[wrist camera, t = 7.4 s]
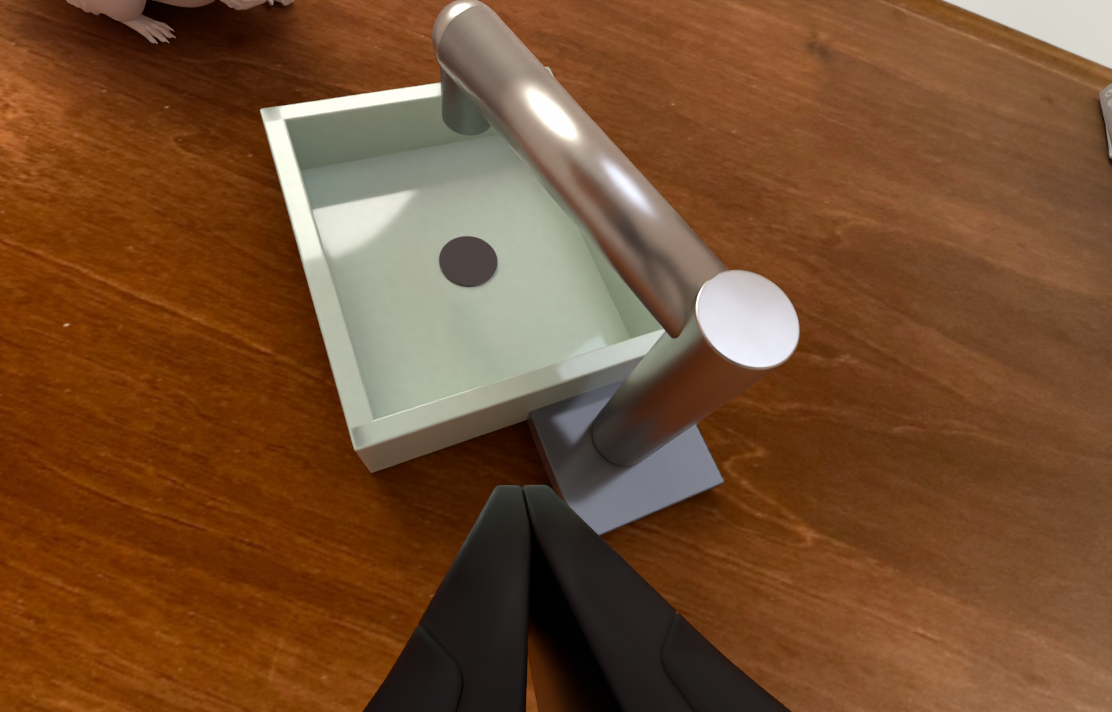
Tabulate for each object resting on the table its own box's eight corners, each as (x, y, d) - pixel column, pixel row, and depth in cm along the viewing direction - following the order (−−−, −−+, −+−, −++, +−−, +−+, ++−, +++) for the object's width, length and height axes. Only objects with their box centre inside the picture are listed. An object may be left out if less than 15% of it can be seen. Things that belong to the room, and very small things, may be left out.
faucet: (667, 441, 21) (822, 332, 12) (619, 479, 20) (750, 391, 11) (475, 202, 24) (487, -30, 15) (426, 226, 23) (408, -5, 14)
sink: (712, 488, 22) (756, 470, 19) (410, 616, 18) (401, 621, 15) (538, 126, 28) (549, 65, 24) (284, 171, 24) (258, 108, 21)
